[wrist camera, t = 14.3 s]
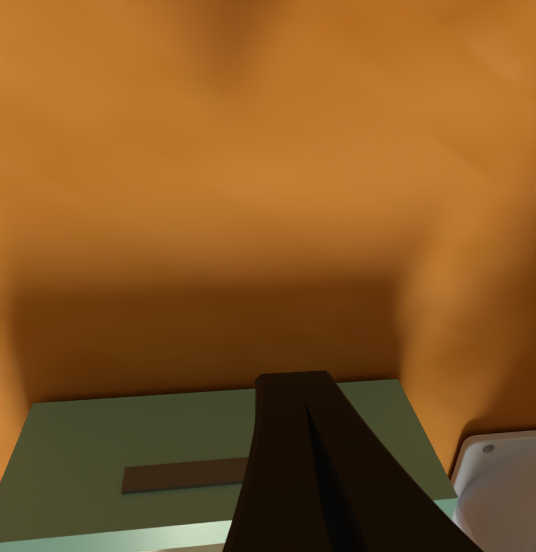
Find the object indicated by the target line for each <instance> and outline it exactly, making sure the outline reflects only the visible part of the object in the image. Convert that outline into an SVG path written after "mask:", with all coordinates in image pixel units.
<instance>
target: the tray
mask: <svg viewBox="0 0 536 552" xmlns="http://www.w3.org/2000/svg"><path fill="white" fill-rule="evenodd" d="M337 385H338V386H339V388H340V389H341V390H342V392H343V393H344V395H345V396H346V397H347V399H348V400H349V401H350V403H351V404H352V405H353V407H354V408H355V409H356V411H357V412H358V413H359V415H360V416H361V417H362V418H363V420H364V421H365V422H366V424H367V425H368V426H369V427H370V429H371V430H372V431H373V432H374V434H375V435H376V436H377V437H378V439H379V440H380V441H381V442H382V443H383V445H384V446H385V447H386V448H387V449H388V451H389V452H390V453H391V454H392V455H393V456H394V458H395V459H396V460H397V461H398V462H399V464H400V465H401V466H402V467H403V468H404V469H405V471H406V472H407V473H408V474H409V475H410V476H411V477H412V478H413V480H414V481H415V482H416V483H417V484H418V485H419V486H420V487H421V488H422V489H423V490H424V492H425V493H426V494H427V495H428V496H429V497H430V498H431V499H432V500H433V501H434V502H435V503H436V504H437V505H438V507H439V508H440V509H441V510H442V511H443V512H444V513H445V514H446V515H447V516H448V517H449V518H450V519H451V520H452V517H453V514H454V511H455V508H456V505H457V502H458V499H459V497H458V495H457V494H456V492H455V490H454V488H453V486H452V484H451V482H450V480H449V478H448V476H447V474H446V472H445V470H444V468H443V466H442V464H441V462H440V460H439V458H438V457H437V455H436V453H435V451H434V449H433V447H432V445H431V443H430V441H429V439H428V437H427V435H426V433H425V431H424V429H423V427H422V425H421V423H420V421H419V420H418V418H417V416H416V414H415V412H414V410H413V408H412V406H411V404H410V402H409V400H408V398H407V396H406V394H405V392H404V390H403V388H402V386H401V384H400V382H399V381H398V379H390V380H375V381H360V382H345V383H337ZM254 425H255V389H240V390H225V391H210V392H195V393H180V394H165V395H151V396H136V397H121V398H106V399H91V400H76V401H61V402H46V403H33V404H32V407H31V409H30V412H29V414H28V416H27V419H26V421H25V424H24V426H23V429H22V431H21V433H20V436H19V438H18V441H17V443H16V446H15V448H14V450H13V453H12V455H11V458H10V460H9V463H8V465H7V467H6V470H5V472H4V475H3V477H2V480H1V482H0V552H222V551H223V548H224V545H225V541H226V538H227V535H228V532H229V529H230V526H231V522H232V519H233V516H234V512H235V508H236V505H237V501H238V497H239V494H240V490H241V487H242V483H243V479H244V475H245V471H246V467H247V462H248V457H249V452H250V447H251V442H252V437H253V432H254Z"/></svg>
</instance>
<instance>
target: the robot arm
mask: <svg viewBox="0 0 536 552" xmlns="http://www.w3.org/2000/svg"><path fill="white" fill-rule="evenodd" d="M450 482H451V484H452V486H453V488H454V490H455V492H456V494H457V495H458V497H459V499H458V502H457V505H456V508H455V511H454V514H453V517H452V520H451V519H450V518H449V517H448V516H447V515H446V514H445V513H444V512H443V511H442V510H441V509H440V508H439V507H438V505H437V504H436V503H435V502H434V501H433V500H432V499H431V498H430V497H429V496H428V495H427V494H426V493H425V492H424V490H423V489H422V488H421V487H420V486H419V485H418V484H417V483H416V482H415V481H414V480H413V478H412V477H411V476H410V475H409V474H408V473H407V472H406V471H405V469H404V468H403V467H402V466H401V465H400V464H399V462H398V461H397V460H396V459H395V458H394V456H393V455H392V454H391V453H390V452H389V451H388V449H387V448H386V447H385V446H384V445H383V443H382V442H381V441H380V440H379V439H378V437H377V436H376V435H375V434H374V432H373V431H372V430H371V429H370V427H369V426H368V425H367V424H366V422H365V421H364V420H363V418H362V417H361V416H360V415H359V413H358V412H357V411H356V409H355V408H354V407H353V405H352V404H351V403H350V401H349V400H348V399H347V397H346V396H345V395H344V393H343V392H342V390H341V389H340V388H339V386H338V385H337V383H336V382H335V380H334V379H333V378H332V376H331V375H330V374H329V373H328V372H327V371H326V370H325V371H308V372H290V373H273V374H261V375H260V376H259V377H258V378H256V379H255V425H254V432H253V437H252V442H251V447H250V452H249V457H248V462H247V467H246V471H245V475H244V479H243V483H242V487H241V490H240V494H239V497H238V501H237V505H236V508H235V512H234V516H233V519H232V522H231V526H230V529H229V532H228V535H227V538H226V541H225V545H224V548H223V551H222V552H536V430H532V431H520V432H507V433H495V434H483V435H474V436H470V437H468V438H467V439H466V440H465V441H464V442H463V444H462V447H461V450H460V453H459V456H458V459H457V463H456V466H455V469H454V472H453V475H452V478H451V481H450Z"/></svg>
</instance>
